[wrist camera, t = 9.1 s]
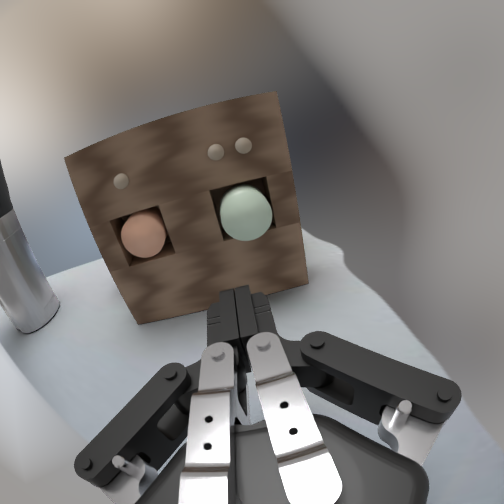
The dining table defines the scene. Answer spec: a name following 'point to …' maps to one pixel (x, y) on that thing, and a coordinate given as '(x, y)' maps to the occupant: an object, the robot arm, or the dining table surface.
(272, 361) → the robot arm
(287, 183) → the button panel
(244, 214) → the button two
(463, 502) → the dining table surface
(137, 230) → the button one
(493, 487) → the dining table surface
